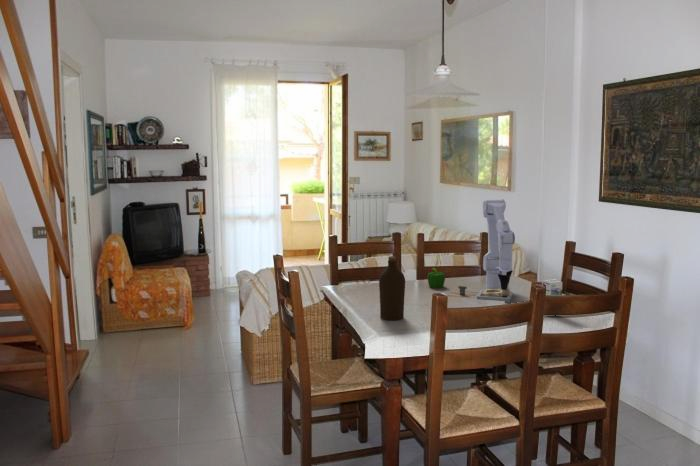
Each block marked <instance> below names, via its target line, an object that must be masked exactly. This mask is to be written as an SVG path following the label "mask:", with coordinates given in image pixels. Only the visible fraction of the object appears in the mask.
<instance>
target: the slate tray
mask: <svg viewBox="0 0 700 466" xmlns="http://www.w3.org/2000/svg"><path fill="white" fill-rule="evenodd" d="M483 291H484V289H480V290H479V292H478V293H477V294H476V299H477V300H478V299H479V300H491V301H492V300H493V301H504V303H506V304H510V302H511V299H512V298H513V291H509V295H508V296H506V297H504V296H503V297H489V296H482V292H483Z"/></svg>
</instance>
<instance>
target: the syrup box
mask: <svg viewBox="0 0 700 466" xmlns="http://www.w3.org/2000/svg"><path fill="white" fill-rule="evenodd" d="M543 283H544V284H545V285H546V295H562V296H563V281H562V280H560V279H555V278H554V279H542V284H543Z"/></svg>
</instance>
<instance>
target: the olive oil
mask: <svg viewBox="0 0 700 466" xmlns="http://www.w3.org/2000/svg"><path fill="white" fill-rule="evenodd" d="M378 284H379V286H378V287H379V288H378V289H379V310H380V312H379V314H380V319H382V320H385V321H401V320H403V319H404V313H405V295H406V294H405V291H406V278H405V275H404V273H403V272H402V271H401V270H400V269H399V268H398V266H397V257H396V256H395V255H394V256H392V255H391V256H388V260H387V267H386V268H385V269H384V270H383V271H382V272H381V274H380V275H379V279H378Z"/></svg>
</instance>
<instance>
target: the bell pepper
mask: <svg viewBox="0 0 700 466" xmlns="http://www.w3.org/2000/svg"><path fill="white" fill-rule="evenodd" d="M431 270H432V271H431V272H428V273H427V283H428V286H429V288H432V289H442V288H443V287H444V285H445V282H446V273H444V272H441V271H438V270H437V269H436V268H435V267H433V268H431Z"/></svg>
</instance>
